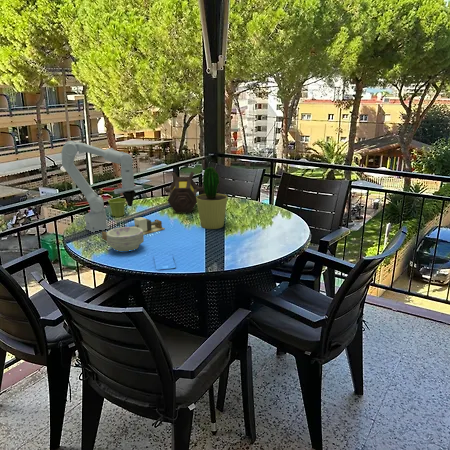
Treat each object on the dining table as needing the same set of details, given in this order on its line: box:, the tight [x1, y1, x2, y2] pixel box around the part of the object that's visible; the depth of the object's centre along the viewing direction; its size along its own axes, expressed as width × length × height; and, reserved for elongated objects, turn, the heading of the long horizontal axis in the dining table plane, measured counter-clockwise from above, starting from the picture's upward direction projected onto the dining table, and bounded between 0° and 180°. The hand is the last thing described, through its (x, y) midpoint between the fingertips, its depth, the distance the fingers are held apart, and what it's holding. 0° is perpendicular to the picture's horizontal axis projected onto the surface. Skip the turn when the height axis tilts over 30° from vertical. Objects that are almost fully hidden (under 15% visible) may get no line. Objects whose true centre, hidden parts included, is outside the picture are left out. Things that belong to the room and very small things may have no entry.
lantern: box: [163, 171, 204, 214], centre depth 239 cm, size 21×23×30 cm
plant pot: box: [107, 197, 127, 218], centre depth 226 cm, size 9×9×9 cm
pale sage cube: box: [133, 216, 148, 232], centre depth 198 cm, size 4×5×6 cm
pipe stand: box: [101, 219, 166, 241], centre depth 196 cm, size 30×8×4 cm, turn 131°
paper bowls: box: [106, 226, 145, 252], centre depth 177 cm, size 15×15×8 cm
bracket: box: [146, 218, 152, 230], centre depth 200 cm, size 2×4×4 cm, turn 42°
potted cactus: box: [196, 166, 228, 230], centre depth 204 cm, size 15×15×30 cm
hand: (130, 205), depth 206 cm, fingers closed
